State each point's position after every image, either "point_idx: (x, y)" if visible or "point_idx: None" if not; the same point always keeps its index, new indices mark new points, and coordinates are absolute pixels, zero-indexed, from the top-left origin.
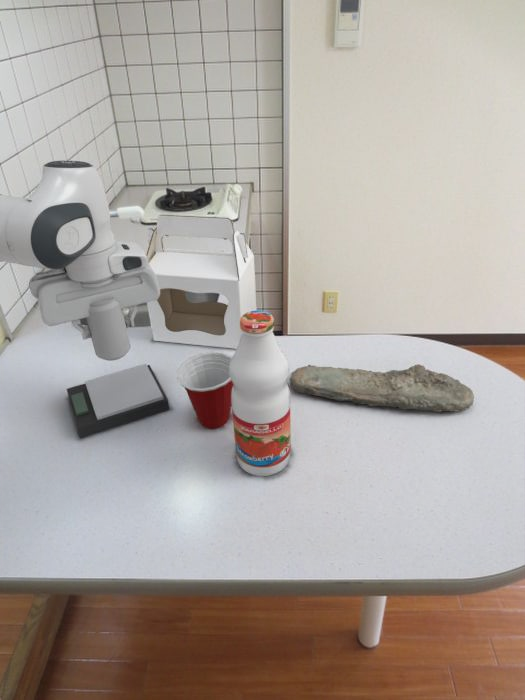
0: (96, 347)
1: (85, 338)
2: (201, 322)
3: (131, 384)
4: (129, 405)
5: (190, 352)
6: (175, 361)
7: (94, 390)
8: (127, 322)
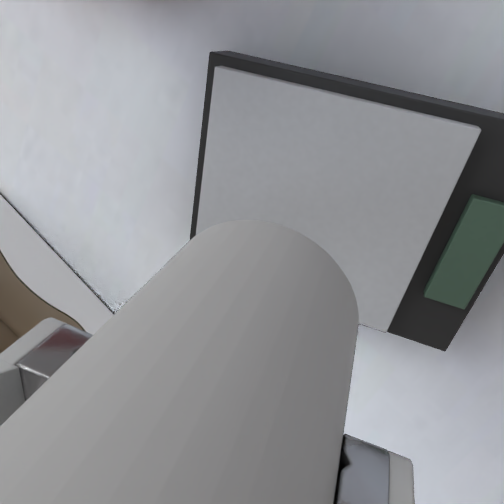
0: (350, 351)
1: (395, 457)
2: (30, 318)
3: (274, 210)
4: (339, 104)
5: (85, 247)
6: (129, 245)
7: (389, 272)
8: (53, 361)
